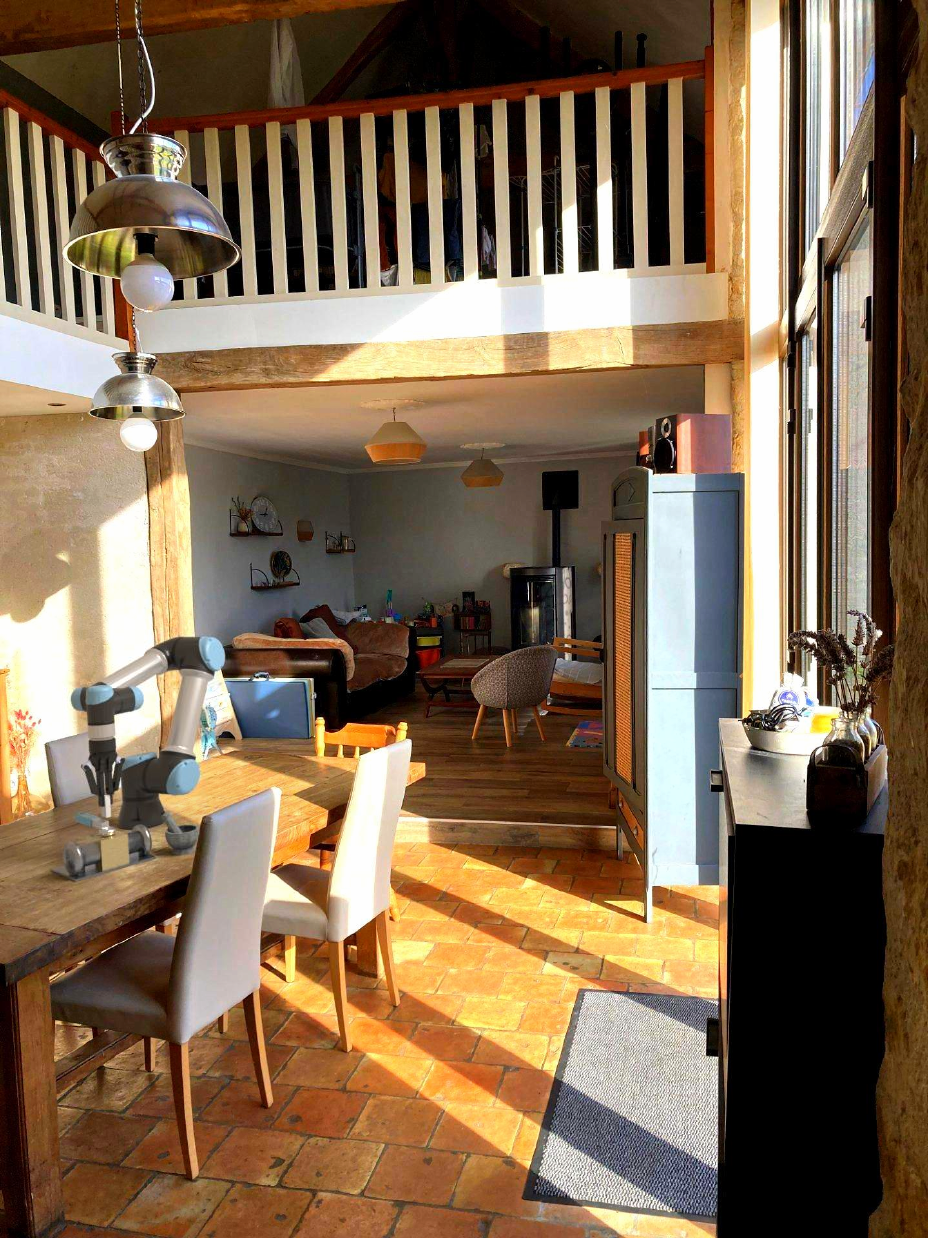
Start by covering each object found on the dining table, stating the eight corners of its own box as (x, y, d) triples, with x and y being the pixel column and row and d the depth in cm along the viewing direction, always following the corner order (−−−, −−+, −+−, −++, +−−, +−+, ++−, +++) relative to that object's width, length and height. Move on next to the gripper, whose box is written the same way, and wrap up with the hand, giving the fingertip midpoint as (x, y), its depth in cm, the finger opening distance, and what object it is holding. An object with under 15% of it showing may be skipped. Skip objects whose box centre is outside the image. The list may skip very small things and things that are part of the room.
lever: (86, 822, 277) (85, 810, 276) (118, 833, 263) (117, 821, 263) (71, 826, 273) (71, 814, 273) (103, 837, 260) (103, 825, 260)
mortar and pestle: (205, 847, 279) (203, 808, 278) (191, 857, 270) (189, 816, 269) (171, 846, 281) (168, 807, 280) (156, 856, 272) (153, 816, 271)
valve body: (130, 849, 280) (128, 818, 279) (155, 858, 270) (154, 826, 269) (51, 870, 262) (48, 837, 261) (75, 881, 252) (73, 847, 251)
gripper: (116, 733, 280) (120, 809, 282) (74, 740, 271) (79, 819, 272) (128, 735, 275) (133, 813, 277) (86, 743, 266) (91, 823, 267)
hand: (106, 816), depth 275 cm, fingers closed
